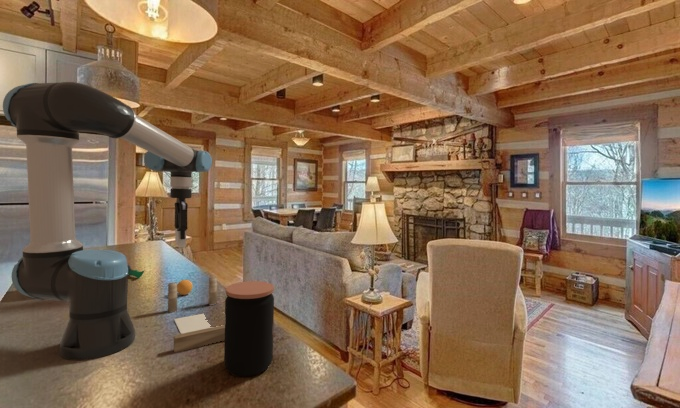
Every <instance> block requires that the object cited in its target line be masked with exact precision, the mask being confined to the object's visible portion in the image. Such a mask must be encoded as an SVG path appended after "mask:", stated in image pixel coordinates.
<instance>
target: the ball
mask: <svg viewBox="0 0 680 408" xmlns="http://www.w3.org/2000/svg"><path fill="white" fill-rule="evenodd" d="M193 286H194V285H193V283H192V282H191V281H190V280H189V279H181V280H180V281H179V282H177V294H179V295H182V296H184V295H185V296H186V295H188V294H190V293H191V291H193Z"/></svg>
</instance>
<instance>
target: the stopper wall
mask: <svg viewBox="0 0 680 408" xmlns="http://www.w3.org/2000/svg"><path fill="white" fill-rule="evenodd" d="M224 340H225V325H221V326H216V327H212V328H207V329H202V330H197V331H192V332H188V333H183V334H181V333H178V334H175V335H173V352H174V353H175V354H176V353H179V352H183V351H188V350H192V349H195V348H201V347H205V346H208V344H209V345H213V344H212V343H214V344H217V343H216V342H218V343H221V342H220V341H222V342H225V341H224ZM204 345H205V346H204Z"/></svg>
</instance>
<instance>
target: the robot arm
mask: <svg viewBox="0 0 680 408" xmlns="http://www.w3.org/2000/svg"><path fill="white" fill-rule="evenodd" d="M2 111H3V114H4V116H5V119H6V120H7V121H8V122H10V124H11V126H13V127H14V128H16V136H17V137H16V138H18V140H20V141H22V142H23V143H24V144H25V147H26V148H25V149H26V169H27V170H26V172H27V173H26V174H27V188H28V189H27V190H28V191H27V192H28V210H29V211H28V212H29V214H28V215H29V233H30V234H29V235H30V242H29V244H27V245H26V246H25V247H24V248H22V257H20V258H19V259H18V260H17V263H16V264H14V266H13V268H12V271H11V282H12V285H13V286H14V288H15V289H16V291H17V292H18V293H20V294H22V295H24V296H26V297H29V298H33V299H36V300H40V301H41V300H42V301H43V300H46V301H47V300H49V301H56V302H57V301H58V302H67V303H69V304H68V305H69V307H68V308H69V309H68V310H69V316H68V317H69V319H68V322H67V325H66V327H65V330H64V332H63V334H62V338H61V341H60V343H59V356H60V357H61V358H63V359H65V360H70V361H81V360H82V361H83V360H90V359H91V360H92V359H97V358H100V357H105V356H109V355H111V354H114V353H117V352H120V351H121V350H124V349H126V348H128V347H129V346H131V345H132V344H133V343H134V341H135V340H136V329H135V326H134V323H133V321H132V318H131V316H130V314H129V311H128V292H129V291H128V288H129V287H128V285H129V274H128V267H127V266H128V259H127V256H126V255H125V254H124V253H123V252H119V251H118V250H112V249H99V248H98V249H97V248H95V249H94V248H93V249H84V244H83V243H82V242H80V241H79V240H77V238H76V222H75V221H76V220H75V219H76V218H75V193H74V191H75V190H74V169H73V168H74V167H73V164H74V163H73V147H75V145H77V144H78V143H80V132H81V133H83V132H84V133H95V134H99V135H103V136H106V137H108V138H111V139H114V140H115V139H116V140H117V139H121V140H124V141H126V142H128V143H130V144H132V145H135V146H137V147H138V148H141V149H143V150H144V151H146V152H145V155H144V157H143V158H144V159H143V160H144V161H143V162H144V165H145V167H146V168H147V169H148V170H150V171H155V172H169V173H170V177H169V178H170V180H169V181H170V182H169V183H170V185H169V186H170V190H169V191H170V193H169V194H170V196H169V197H170V198H171V199H176V202H174V224H173V226H174V229H175V231H174V232H175V233H174V234H175V236H174V237H175V238H174V239H175V241H174V243H175V244H174V246H177V248H178V249H181V248H182V249H183V248H184V249H185V248H186V247H187V230H188V228H189V227H188V207H189V204H188V203H187V202H186V199H191V198H192V189H191V188H192V183H194V180H193V179H192V173H202V172H204V173H205V172H209V170H210V169H211V168H212V165H213V164H212V163H213V159H212V155H211V154H210V153H209V152H208V151H206V150H201V149H200V150H199V149H198V150H196V149H194V148H193V147H191V146H189V145H187V144H186V143H184V142H182V141H180V139H179V140H178V139H177V138H176V137H174V136H172V135H170V134H169V133H167V132H165V131H163V130H162V129H161V128H158V126H156V125H153V124H152V123H150V122H149V121H147V120H145V119H144V118H142V117H140V116H139V115H137V114H136V112H135V110H134V109H133V108H132V107H131V106H130V105H129V104H128V105H127V104H126V103H125V102H123V101H122V100H119V99H118V98H116V97H114V96H112V95H110V94H108V93H107V92H104V91H103V90H100V89H98V88H95V87H93V86H90V85H87V84H84V83H80V82H75V81H61V82H41V83H40V82H32V83H31V82H30V83H26V84H21V85H18V86H15V87H13V88H12V89H10V90H8V92H7V93H6V94H5V95H4V98H3V101H2Z"/></svg>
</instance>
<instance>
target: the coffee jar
mask: <svg viewBox="0 0 680 408" xmlns="http://www.w3.org/2000/svg"><path fill="white" fill-rule="evenodd" d="M274 291H275V286H274V285H273V284H272V283H270V282H266V281H260V280H249V281H247V280H246V281H238V282H235V283H232V284H230V285H228V286H226V288H225V295H226V297H225V300H224V301H225V302H224V310H225V311H224V314H225V341H224V347H223V348H224V355H223V360H224V361H223V362H224V368H225V369H226V370H227V372H228V371H229V372H228V374H230V373H231V374H230V375H232V374H233V376H234V375H236V376H235V377H239V376H240V378H241V377H242V376H243V377H242V378H247V377H248V376H249V377H254V376H253V375H255V376H257V375H259V374H258V373H260V374H262V373H263V371H264V370H265V371H267V370H268V368H269V367H270V365H271V364H272V362H273V358H274V355H273V354H274V321H275V320H274V319H275V318H274V317H275V315H274V314H275V312H274V309H275V297H274V294H273V292H274ZM268 366H269V367H268ZM265 371H264V372H265ZM261 372H262V373H261ZM256 374H257V375H256Z"/></svg>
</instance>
